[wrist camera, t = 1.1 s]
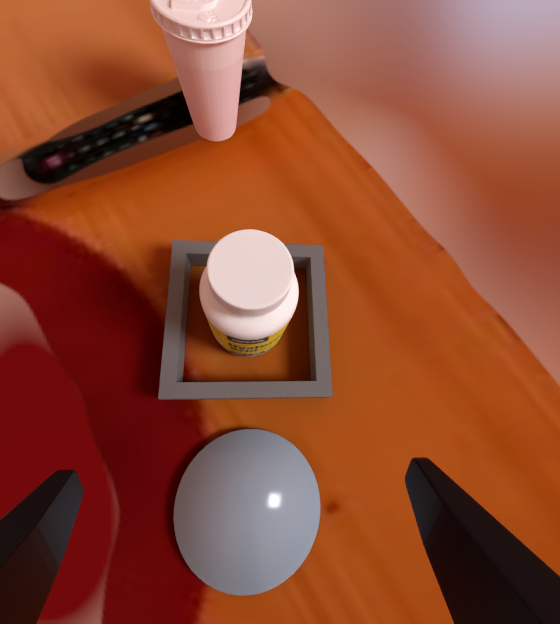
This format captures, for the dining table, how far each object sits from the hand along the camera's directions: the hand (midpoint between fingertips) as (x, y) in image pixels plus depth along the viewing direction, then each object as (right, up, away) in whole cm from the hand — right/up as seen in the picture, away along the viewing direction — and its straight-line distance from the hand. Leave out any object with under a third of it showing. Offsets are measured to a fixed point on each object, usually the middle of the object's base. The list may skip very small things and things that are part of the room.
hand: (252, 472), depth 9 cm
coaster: (-1, -8, +11) cm, 14 cm away
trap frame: (-2, +4, +15) cm, 15 cm away
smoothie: (-5, +21, +20) cm, 30 cm away
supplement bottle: (-2, +4, +15) cm, 16 cm away
